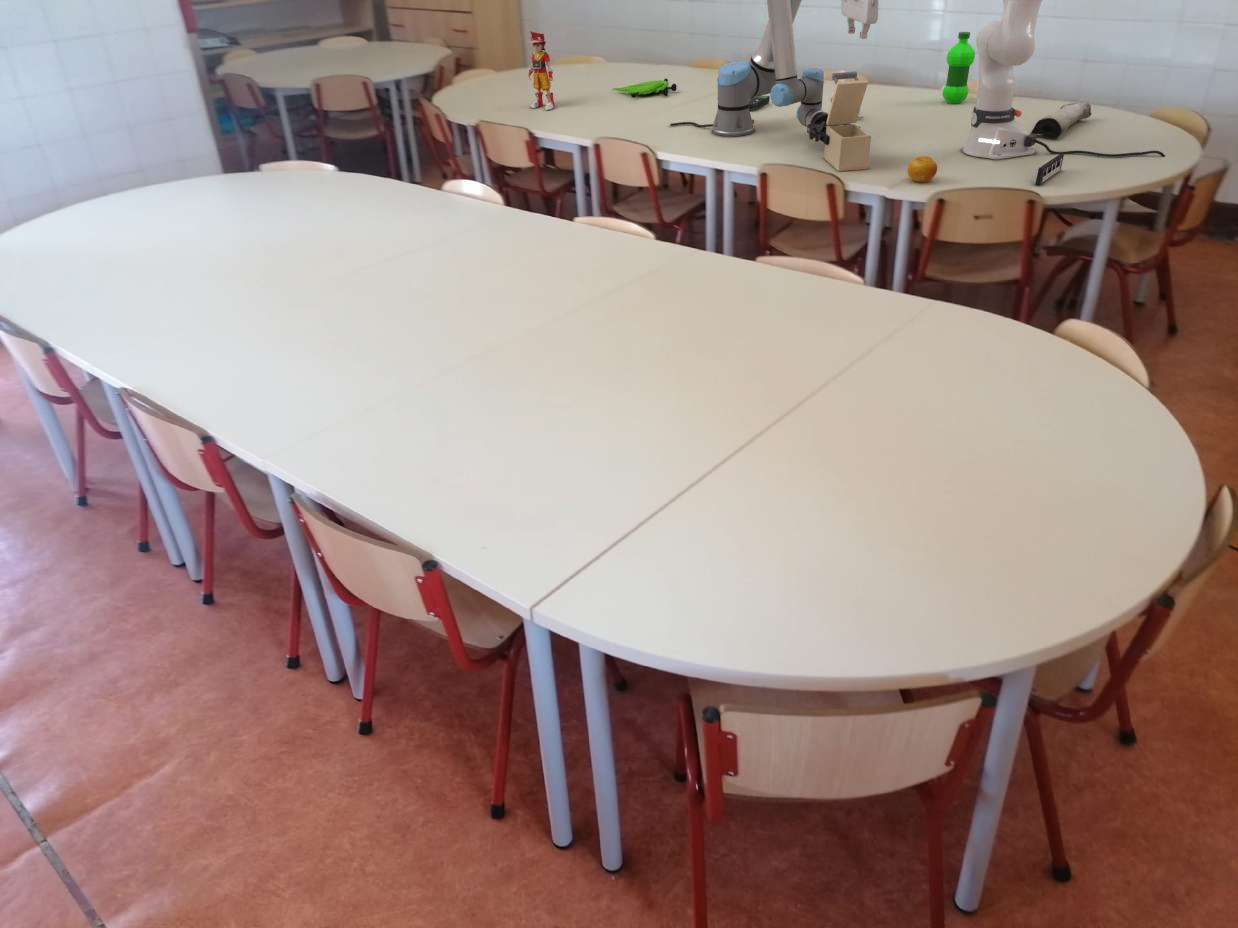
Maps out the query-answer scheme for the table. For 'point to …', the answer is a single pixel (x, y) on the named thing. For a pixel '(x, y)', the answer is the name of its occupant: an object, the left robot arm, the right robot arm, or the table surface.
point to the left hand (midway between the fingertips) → (843, 139)
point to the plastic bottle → (958, 69)
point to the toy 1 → (541, 71)
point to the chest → (847, 147)
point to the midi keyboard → (1049, 169)
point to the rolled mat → (1061, 119)
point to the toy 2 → (648, 88)
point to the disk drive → (758, 102)
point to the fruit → (922, 169)
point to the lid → (846, 99)
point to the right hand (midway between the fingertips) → (857, 36)
